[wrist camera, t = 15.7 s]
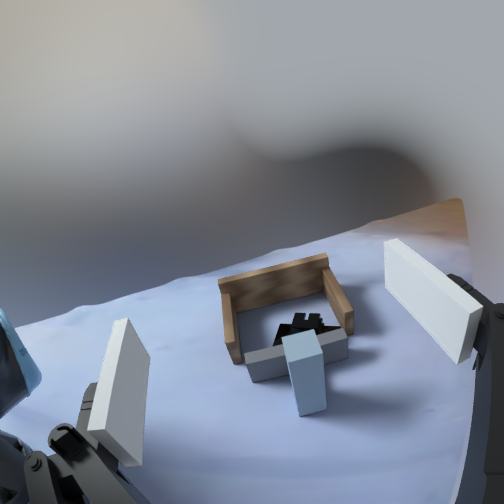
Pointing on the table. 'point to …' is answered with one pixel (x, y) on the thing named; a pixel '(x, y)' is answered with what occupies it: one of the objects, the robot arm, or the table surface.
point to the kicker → (301, 365)
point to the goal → (280, 293)
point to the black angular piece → (303, 326)
